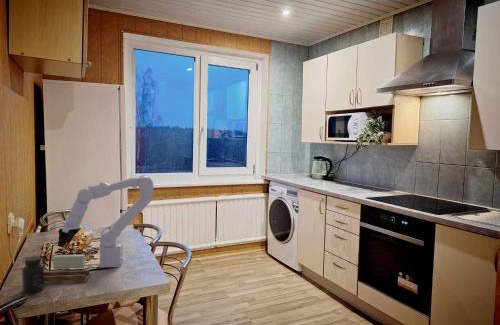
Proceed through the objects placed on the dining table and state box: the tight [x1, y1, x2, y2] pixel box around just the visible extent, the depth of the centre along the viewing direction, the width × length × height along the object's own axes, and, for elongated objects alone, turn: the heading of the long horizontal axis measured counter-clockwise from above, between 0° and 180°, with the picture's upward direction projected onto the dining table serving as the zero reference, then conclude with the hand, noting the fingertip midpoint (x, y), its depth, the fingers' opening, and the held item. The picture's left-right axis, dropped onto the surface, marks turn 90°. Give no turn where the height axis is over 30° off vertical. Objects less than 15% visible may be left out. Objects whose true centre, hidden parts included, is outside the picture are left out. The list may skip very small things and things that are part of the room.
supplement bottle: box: [21, 256, 45, 295], centre depth 127 cm, size 7×7×12 cm
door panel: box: [52, 254, 86, 269], centre depth 147 cm, size 12×2×6 cm, turn 99°
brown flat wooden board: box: [44, 269, 93, 285], centre depth 137 cm, size 18×8×2 cm, turn 99°
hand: (63, 244), depth 147 cm, fingers open, 7 cm apart
